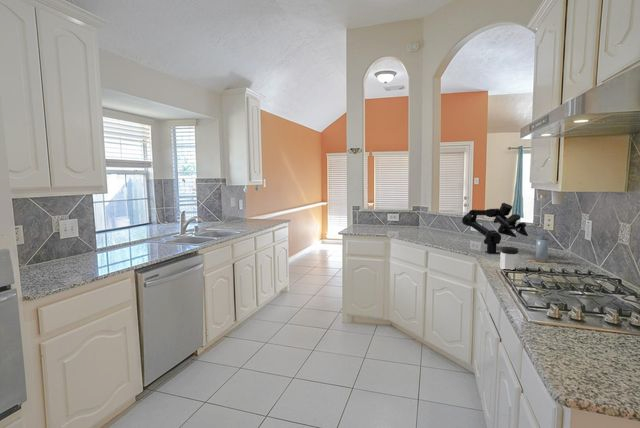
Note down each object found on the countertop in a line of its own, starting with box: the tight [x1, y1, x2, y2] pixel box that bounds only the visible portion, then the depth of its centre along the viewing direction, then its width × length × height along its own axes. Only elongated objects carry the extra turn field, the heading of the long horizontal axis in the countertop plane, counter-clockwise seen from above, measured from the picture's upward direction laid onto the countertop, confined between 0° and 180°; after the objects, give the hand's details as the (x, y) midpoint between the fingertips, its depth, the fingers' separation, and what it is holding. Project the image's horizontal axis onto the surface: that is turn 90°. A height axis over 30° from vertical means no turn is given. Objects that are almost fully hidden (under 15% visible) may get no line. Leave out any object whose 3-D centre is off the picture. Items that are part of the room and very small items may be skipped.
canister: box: [535, 234, 550, 263], centre depth 207 cm, size 6×6×16 cm
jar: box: [499, 246, 520, 270], centre depth 194 cm, size 9×8×12 cm
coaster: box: [526, 259, 558, 266], centre depth 207 cm, size 12×12×1 cm
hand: (521, 236), depth 213 cm, fingers open, 9 cm apart
